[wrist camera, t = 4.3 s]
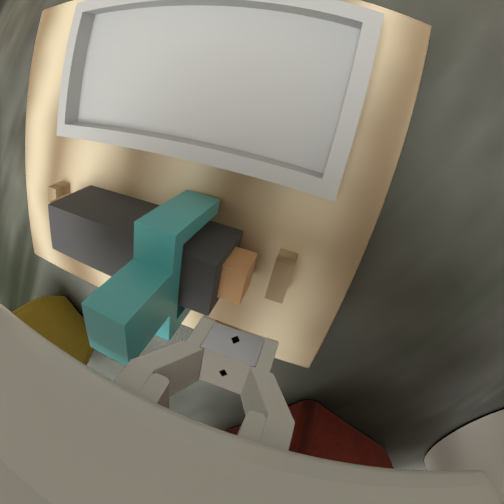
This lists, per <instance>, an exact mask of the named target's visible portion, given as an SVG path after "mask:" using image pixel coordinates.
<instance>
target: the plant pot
mask: <svg viewBox="0 0 504 504" xmlns="http://www.w3.org/2000/svg"><path fill="white" fill-rule="evenodd" d="M288 408H289V410H290V413H291V415H292V417H293V419H294V422H295V424H294V429H293V433H292V438H291V442H290V446H289V450H288V451H292V452H296V453H300V454H305V455H309V456H314V457H318V458H323V459H328V460H334V461H339V462H345V463H351V464H358V465H365V466H373V467H382V468H392V469H393V466H392V464H391V461H390V459H389V457H388V455H387V452H386V450H385V448H384V447H383V446H381V445H380V444H378V443H376V442H375V441H373V440H372V439H370V438H369V437H367V436H366V435H364V434H363V433H361V432H360V431H358V430H357V429H355V428H354V427H352V426H351V425H349V424H348V423H346V422H345V421H343V420H342V419H340V418H339V417H337V416H336V415H335V414H333V413H332V412H330V411H329V410H327V409H326V408H325V407H323V406H322V405H320V404H319V403H317V402H315V401H311V400H303V401H300V402H298V403H296V404H293V405H291V406H288ZM240 427H241V425H240V426H237V427H234V428H231V429H228V430H227V431H226V432H228V433H231V434H234V435H237V434H238V431H239V429H240Z"/></svg>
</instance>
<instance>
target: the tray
mask: <svg viewBox="0 0 504 504" xmlns="http://www.w3.org/2000/svg"><path fill="white" fill-rule="evenodd" d="M383 17H384V13H381V12H378V11H375V10H372V9H368V8H365V7H362V6H358V5H355V4H351V3H347V2H343V1H339V0H87V1H83V2H79V3H77V5H76V9H75V13H74V17H73V21H72V25H71V29H70V34H69V38H68V43H67V48H66V54H65V59H64V65H63V72H62V79H61V87H60V96H59V106H58V118H57V135H56V136H62V137H69V138H76V139H82V140H88V141H94V142H100V143H106V144H112V145H117V146H122V147H128V148H133V149H138V150H143V151H148V152H152V153H157V154H162V155H166V156H171V157H175V158H180V159H184V160H189V161H193V162H197V163H201V164H205V165H209V166H213V167H217V168H221V169H225V170H229V171H233V172H237V173H240V174H244V175H248V176H252V177H255V178H259V179H262V180H266V181H269V182H273V183H276V184H280V185H283V186H287V187H290V188H293V189H297V190H300V191H303V192H306V193H310V194H313V195H316V196H319V197H322V198H325V199H328V200H331V201H335V198H336V195H337V192H338V189H339V186H340V183H341V179H342V176H343V173H344V170H345V166H346V163H347V160H348V156H349V153H350V150H351V146H352V143H353V139H354V136H355V132H356V129H357V125H358V121H359V118H360V114H361V110H362V107H363V103H364V99H365V95H366V91H367V87H368V83H369V79H370V75H371V71H372V67H373V63H374V59H375V54H376V50H377V45H378V41H379V36H380V32H381V27H382V22H383Z"/></svg>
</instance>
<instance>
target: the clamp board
mask: <svg viewBox="0 0 504 504" xmlns="http://www.w3.org/2000/svg"><path fill="white" fill-rule="evenodd" d="M83 1H87V0H73V1H70V2H67V3H63V4H60V5H57V6H54V7H51V8H48V9H46V10H43V12H42V15H41V19H40V24H39V28H38V32H37V37H36V42H35V47H34V53H33V59H32V65H31V72H30V80H29V88H28V99H27V112H26V138H25V158H26V184H27V197H28V208H29V218H30V226H31V233H32V240H33V246H34V252H35V254H37V255H38V256H40V257H42V258H44V259H46V260H47V261H49V262H51V263H53V264H55V265H57V266H58V267H60V268H62V269H64V270H66V271H68V272H70V273H72V274H74V275H76V276H77V277H79V278H81V279H83V280H85V281H87V282H89V283H91V284H93V285H95V286H97V287H100V286H101V285H102V284H104V283H105V282H106V281H107V280H108V279H109V278H111V276H109V275H107V274H105V273H103V272H100V271H98V270H96V269H94V268H92V267H90V266H88V265H85V264H83V263H81V262H79V261H77V260H75V259H73V258H71V257H69V256H67V255H65V254H63V253H61V252H59V251H57V250H55V249H53V248H52V241H51V233H50V223H49V212H48V204H49V202H50V201H52V200H55V199H57V198H59V197H61V196H63V195H66V194H68V193H74V192H76V191H78V190H80V189H83V188H85V187H87V186H90V185H92V186H96V187H99V188H103V189H106V190H110V191H113V192H116V193H120V194H123V195H127V196H130V197H134V198H137V199H140V200H144V201H147V202H150V203H154V204H157V205H162V204H163V203H165V202H167V201H168V200H170V199H172V198H173V197H175V196H177V195H179V194H180V193H182V192H184V191H185V190H189V191H193V192H196V193H200V194H203V195H207V196H210V197H214V198H218V199H220V204H219V210H218V214H216V215H215V216H214V217H213V218H212V219H211V220H210V221H213V222H217V223H220V224H223V225H226V226H230V227H233V228H236V229H239V230H242V231H243V235H242V240H241V244H240V248H243V249H246V250H249V251H252V252H255V253H258V255H257V259H256V263H255V267H254V271H253V275H252V279H251V283H250V285H249V287H248V289H247V291H246V293H245V295H244V297H243V299H242V301H241V303H240V305H237V304H234V303H231V302H229V301H226V300H223V299H220V298H219V300H218V302H217V303H216V305H215V306H214V308H213V310H212V311H211V313H210V314H209V316H208V317H210V318H213V319H215V320H219V321H221V322H224V323H226V324H229V325H231V326H234V327H237V328H239V329H242V330H245V331H248V332H251V333H254V334H257V335H260V336H263V337H265V338H266V337H267V338H270V339H273V340H276V341H278V343H279V344H278V347H277V350H276V354H275V357H274V358H277V359H280V360H283V361H286V362H289V363H293V364H296V365H299V366H303V367H306V368H309V366H310V365H311V363H312V361H313V359H314V357H315V355H316V353H317V351H318V350H319V348H320V346H321V344H322V342H323V340H324V338H325V336H326V334H327V332H328V330H329V328H330V326H331V324H332V322H333V320H334V318H335V316H336V314H337V312H338V310H339V308H340V306H341V303H342V301H343V299H344V297H345V295H346V293H347V291H348V288H349V286H350V284H351V282H352V279H353V277H354V275H355V273H356V270H357V268H358V266H359V263H360V261H361V259H362V256H363V254H364V252H365V249H366V247H367V244H368V242H369V239H370V237H371V235H372V232H373V229H374V227H375V224H376V222H377V219H378V217H379V214H380V211H381V209H382V206H383V203H384V200H385V198H386V195H387V192H388V189H389V186H390V184H391V181H392V178H393V175H394V172H395V169H396V166H397V163H398V160H399V157H400V153H401V150H402V147H403V144H404V140H405V137H406V134H407V130H408V127H409V123H410V120H411V116H412V112H413V109H414V105H415V101H416V97H417V93H418V89H419V85H420V81H421V76H422V72H423V67H424V63H425V58H426V53H427V48H428V42H429V37H430V31H431V26H430V25H428V24H425V23H423V22H421V21H418V20H416V19H413V18H411V17H408V16H406V15H403V14H400V13H398V12H395V11H392V10H389V9H386V8H383V7H380V6H377V5H374V4H371V3H367V2H364V1H361V0H339V1H343V2H347V3H351V4H355V5H358V6H362V7H365V8H368V9H372V10H375V11H378V12H381V13H384V17H383V22H382V27H381V32H380V36H379V41H378V45H377V50H376V54H375V59H374V63H373V67H372V71H371V75H370V79H369V83H368V87H367V91H366V95H365V99H364V103H363V107H362V110H361V114H360V118H359V121H358V125H357V129H356V132H355V136H354V139H353V143H352V146H351V150H350V153H349V156H348V160H347V163H346V166H345V170H344V173H343V176H342V179H341V183H340V186H339V189H338V192H337V195H336V198H335V201H331V200H328V199H325V198H322V197H319V196H316V195H313V194H310V193H306V192H303V191H300V190H297V189H293V188H290V187H287V186H283V185H280V184H276V183H273V182H269V181H266V180H262V179H259V178H255V177H252V176H248V175H244V174H240V173H237V172H233V171H229V170H225V169H221V168H217V167H213V166H209V165H205V164H201V163H197V162H193V161H189V160H184V159H180V158H175V157H171V156H166V155H162V154H157V153H152V152H148V151H143V150H138V149H133V148H128V147H122V146H117V145H112V144H106V143H100V142H94V141H88V140H82V139H76V138H69V137H62V136H56V135H57V118H58V106H59V96H60V87H61V79H62V72H63V65H64V59H65V54H66V48H67V43H68V38H69V34H70V29H71V25H72V21H73V17H74V13H75V9H76V5H77V3H79V2H83ZM203 316H204V315H203V314H201V313H198V312H196V311H193V310H191V311H190V312H189V313H188V315H187V316H186V318H185V319H184V320H183V322H182V323H181V324H183V325H185V326H188V327H190V328H193V329H194V328H195V327H196V325H197V324H198V322H199V321H200V319H201V318H202V317H203ZM205 316H206V315H205ZM264 341H265V340H264Z"/></svg>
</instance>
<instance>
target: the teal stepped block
mask: <svg viewBox="0 0 504 504" xmlns="http://www.w3.org/2000/svg"><path fill="white" fill-rule="evenodd" d="M219 204H220V199H218V198H214V197H210V196H207V195H203V194H200V193H196V192H193V191H189V190H185V191H184V192H182V193H180V194H179V195H177V196H175V197H173V198H172V199H170V200H168V201H167V202H165V203H163V204H162V205H160V206H158V207H157V208H155V209H153V210H152V211H150V212H149V213H147V214H145V215H144V216H142V217H141V218H139V219H137V220H136V221H134V258H133V259H132V260H131V261H130V262H129V263H127V264H126V265H125V266H124V267H123V268H121V269H120V270H119V271H118V272H117V273H115V274H114V275H113V276H112V277H111V278H109V279H108V280H107V281H106V282H105V283H104V284H102V285H101V286H100V287H99V288H98V289H97V290H95V291H94V292H93V293H92V294H91V295H90V296H89V297H87V298H86V299H85V300H84V301H83V302H82V303H81V305H82V311H83V316H84V321H85V326H86V331H87V335H88V339H89V344H90V347H92V348H93V349H95V350H97V351H99V352H100V353H102V354H104V355H106V356H108V357H109V358H111V359H113V360H115V361H117V362H119V363H121V364H122V365H124V366H126V365H127V364H128V363H129V361H130V360H131V359H134V358H136V357H138V356H139V355H140V353H141V352H142V351H143V350H144V348H145V347H146V346H147V344H148V343H149V342H150V340H151V339H152V338H153V337H154V335H156V336H158V337H161V338H163V339H165V340H168V341H169V340H170V339H171V337H172V336H173V335H174V333H175V332H176V330H177V329H178V327H179V326H180V325H181V323H182V322H183V320H184V319H185V318H186V316H187V315H188V313H189V312H190V311H191V310H190V309H188V308H185V307H183V306H180V305H178V293H179V281H180V271H181V260H182V251H183V244H184V243H186V242H187V241H188V240H189V239H190V238H191V237H192V236H193V235H194V234H195V233H196V232H198V231H199V230H200V229H201V228H202V227H203V226H204V225H205V224H206V223H207V222H209V221H210V220H211V219H212V218H213V217H214V216H215V215H216V214H218V210H219Z"/></svg>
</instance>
